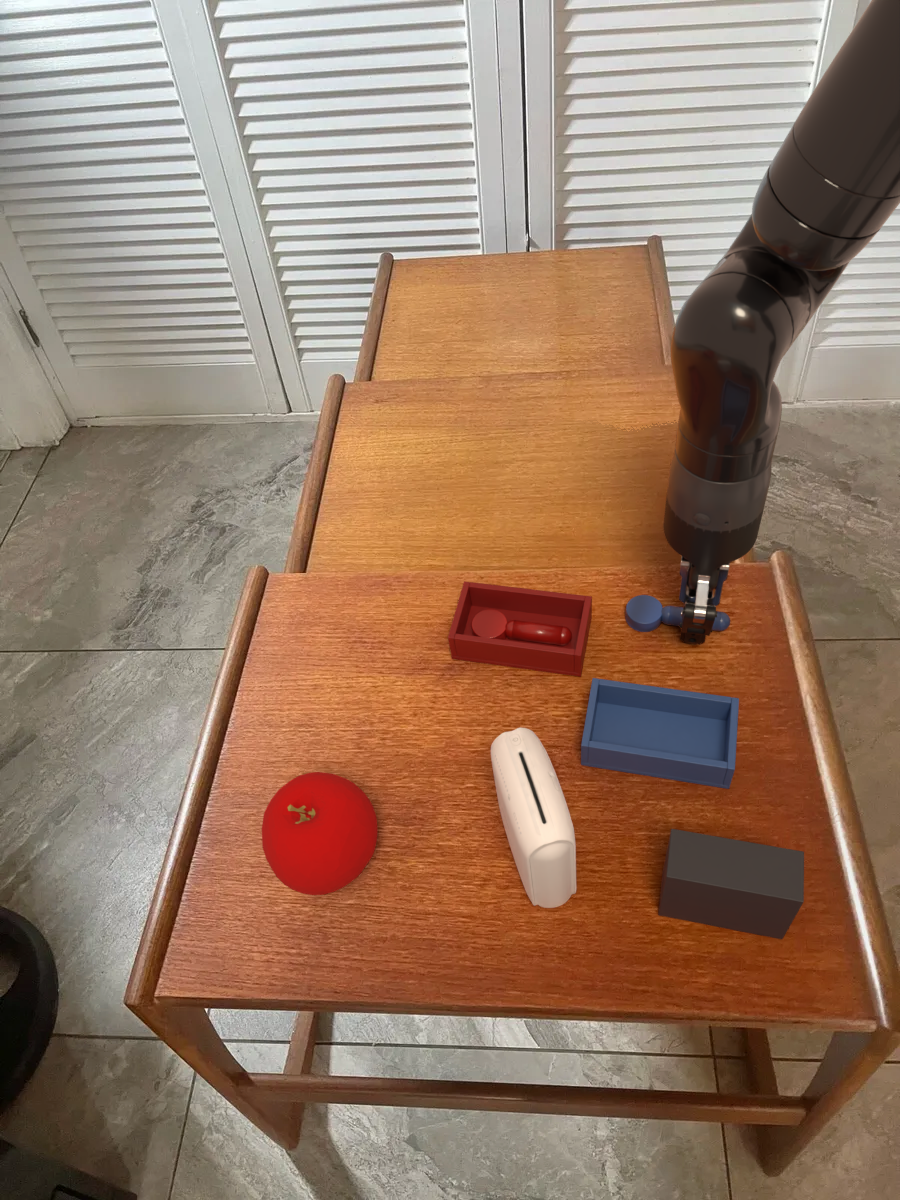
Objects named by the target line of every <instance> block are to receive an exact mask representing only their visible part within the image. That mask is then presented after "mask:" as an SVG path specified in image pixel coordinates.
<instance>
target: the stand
mask: <svg viewBox="0 0 900 1200" xmlns="http://www.w3.org/2000/svg"><path fill="white" fill-rule="evenodd" d="M662 867H663V868H662V872H661V873H662V874H661V883H660V884H661V885H660V893H659V904H658V913H657V915H658V916H660V917H666V918H670V919H675V920H681V921H686V922H691V923H697V924H701V925H707V926H712V927H715V928H716V927H717V928H722V929H726V930H733V931H737V932H741V933H747V934H754V935H758V936H763V937H768V938H772V939H778V940H783V939H784V938H785V936H786V934H787V932H788V931H789V929H790V927H791V925H792V923H793V922H794V920H795V918H796V916H797V914H798V912H799V911H800V909H801V907H802V906H803V904H804V902H805V895H804V894H805V851H802V850H797V849H792V848H791V849H790V848H786V847H779V846H774V845H769V844H762V843H757V842H750V841H745V840H739V839H734V838H728V837H723V836H716V835H711V834H706V833H699V832H693V831H688V830H682V829H676V828H670V831H669V838H668V843H667V847H666V853H665V857H664V862H663V866H662Z"/></svg>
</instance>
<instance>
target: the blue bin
mask: <svg viewBox="0 0 900 1200" xmlns="http://www.w3.org/2000/svg"><path fill="white" fill-rule="evenodd" d="M739 706H740V698H739V697H733V696H725V695H718V694H713V693H712V694H711V693H705V692H704V693H703V692H696V691H691V690H690V691H689V690H683V689H675V688H670V687H669V688H668V687H662V686H655V685H646V684H638V683H632V682H625V681H618V680H610V679H605V678H596V677H592V680H591V685H590V691H589V697H588V703H587V708H586V714H585V721H584V726H583V731H582V738H581V744H580V765H581V766H584V767H592V768H598V769H603V770H610V771H616V772H622V773H628V774H633V775H640V776H646V777H653V778H660V779H665V780H671V781H672V780H673V781H677V782H684V783H689V784H696V785H701V786H702V785H703V786H706V787H707V786H708V787H713V788H714V787H715V788H721V789H726V790H729V789H730V788H731V784H732V781H733V777H734V774H735V771H736V762H737V761H736V759H737V758H736V757H737V741H738V725H739V709H740V707H739Z"/></svg>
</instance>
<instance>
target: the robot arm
mask: <svg viewBox="0 0 900 1200" xmlns="http://www.w3.org/2000/svg"><path fill="white" fill-rule="evenodd" d="M899 205H900V0H871V1H870V2H869V4H868V5H867V7H866V8H865V10H864V12H863V13H862V15H861V16H860V18H859V19H858V21H857V22H856V24H855V25H854V27H853V28H852V30H851V31H850V33H849V35H848V36H847V38H846V39H845V40H844V42H843V44H842V45H841V46H840V48H839V50H838V51H837V53H836V54H835V56H834V57H833V59H832V60H831V62H830V63H829V65H828V66H827V69H826V70H825V71H824V73H823V75H822V76H821V77H820V79H819V81H818V83H817V84H816V86H815V87H814V89H813V90H812V93H811V94H810V96H809V97H808V99H807V100H806V102H805V104H804V105H803V108H802V109H801V111H800V112H799V114H798V116H797V117H796V119H795V121H794V123H793V124H792V126H791V127H790V129H789V131H788V133H787V135H786V137H785V138H784V140H783V141H782V143H781V145H780V147H779V149H778V150H777V152H776V153H775V155H774V157H773V159H772V160H771V163H769V166H768V168H767V169H766V171H765V173H764V175H763V177H762V179H761V181H760V182H759V185H758V188H757V189H756V192H755V195H754V197H753V202H752V207H751V214H750V215H749V217H748V219H747V220H746V222H745V223H744V225H743V227H742V228H741V230H740V231H739V233H738V234H737V236H736V237H735V238H734V241H732V243H731V245H730V246H729V247H728V249H727V250H726V252H725V253H724V255H722V257H721V258H720V260H718V262H717V263H716V264H715V265H714V266H713V268H712V269H711V270H710V272H709V273H708V274H707V275H706V276H705V277H704V278H703V280H701V282H700V283H699V284H698V285H697V286H696V287H695V289H694V290H693V291H692V292H691V293H690V295H689V296H688V297H687V299H686V300H685V301H684V302H683V304H682V306H681V308H680V310H679V312H678V314H677V317H676V320H675V323H674V326H673V331H672V336H671V341H670V362H671V369H672V374H673V381H674V384H675V385H674V386H675V391H676V396H677V400H678V403H679V407H680V409H679V415H678V421H677V428H676V429H677V430H676V431H677V432H676V439H675V447H674V451H673V455H672V458H671V459H670V460H671V461H670V464H669V470H668V478H667V488H666V495H665V496H666V497H665V506H664V516H663V524H662V528H663V530H662V531H663V536H664V537H665V540H666V542H667V543H668V545H669V546H670V547H671V549H672V550H673V551H674V552H675V553H677V554H678V555H680V564H679V576H680V577H681V578H680V587H679V596H678V600H679V602H680V603H682V604H683V606H682V607H683V611H681V616H682V623H681V622H680V626H679V629H680V635H679V640H680V641H681V642H683V643H685V644H692V645H703V644H705V642H706V637H707V636H708V637H710V635H711V633H713V630H712V627H713V624H714V621H715V617H716V618H717V611H718V610H717V606H719V605H720V604H721V600H722V593H723V586H724V582H725V581H727V580H728V578H729V573H730V565H731V563H732V562H734V561H737V560H739V559H741V558H743V557H744V556H746V555H747V554H748V553H749V552H750V551H751V550H752V548H753V547H754V546H755V544H756V542H757V539H758V535H759V531H760V526H761V522H762V519H763V514H764V509H765V506H766V501H767V497H768V493H769V489H770V485H771V479H772V464H773V463H772V462H773V456H774V452H775V448H776V444H777V439H778V434H779V432H780V431H779V430H780V426H781V420H782V413H783V412H782V411H783V401H782V395H781V392H780V389H779V387H778V386H777V384H776V382H775V381H774V380H775V377H776V374H777V370H778V368H779V366H780V363H781V361H782V360H783V358H784V357H785V356H786V354H787V352H788V351H789V350H790V348H791V347H792V346H793V344H794V343H795V341H796V340H797V338H798V337H799V336H800V334H801V333H802V332H803V330H804V329H805V328H806V326H807V325H808V324H809V322H810V320H811V319H812V318H813V316H814V315H815V313H816V312H817V311H818V309H819V308H820V307H821V306H822V303H823V302H824V301H825V300H826V298H827V296H828V295H829V294H830V292H831V290H832V289H833V288H834V286H835V285H836V283H837V282H838V280H839V279H840V277H841V276H842V274H843V273H844V271H845V270H846V268H847V267H848V265H849V264H850V262H851V261H852V260H853V259H854V258H856V256H858V255H859V254H860V253H861V252H862V251H863V250H864V249H865V247H867V245H868V244H869V243H870V242H871V241H872V240H873V238H874V237H875V236H876V235H877V234H878V233H879V231H880V230H881V229H882V227H883V226H884V225H885V223H886V222H887V221H888V219H889V218H890V217H891V216H892V214H893V213H894V212H895V210H896V209H897V208H898V207H899Z"/></svg>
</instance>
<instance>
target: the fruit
mask: <svg viewBox="0 0 900 1200" xmlns="http://www.w3.org/2000/svg"><path fill="white" fill-rule="evenodd" d="M378 829H379V828H378V818H377V813H376V810H375V808H374V805H373V804H372V801H371V800H370V799H369V797H368V796H367V794H366V793H365V792H364V791H363V790H362V789H361V788H360V787H359V786H358V785H357V784H356V783H354V782H353V781H352V780H350V779H348V778H346V777H344V776H340V775H337V774H334V773H332V772H331V773H330V772H321V771H313V772H307V773H303V774H300V775H298V776H296V777H294V778H292V779H291V780H289V781H288V782H287V783H285V784H284V785H283V786H281V787H280V788H279V789H278V790H277V791H276V792H275V794H274V795H273V796H272V798H271V799H270V800H269V802H268V804H267V806H266V808H265V810H264V812H263V817H262V823H261V845H262V846H261V847H262V850H263V854H264V857H265V859H266V861H267V863H268V865H269V867H270V869H271V870H272V872H273V873H274V875H275V877H276V878H277V879H278V880H279V881H280V882H281V883H282V884H283V885H284V886H286V887H287V888H288V889H290V890H293V891H295V892H297V893H300V894H303V895H309V896H322V895H323V896H324V895H329V894H331V893H334V892H337V891H338V890H340V889H343V888H344V887H346V886H348V885H349V884H350V883H352V882H353V881H354V880H356V879H357V878H358V877H359V876H360V874H361V873H362V872H363V871H364V869H365V868H366V866H367V865H368V864H369V862H370V861H371V859H372V857H373V856H374V853H375V850H376V846H377V840H378V835H379V834H378Z"/></svg>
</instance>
